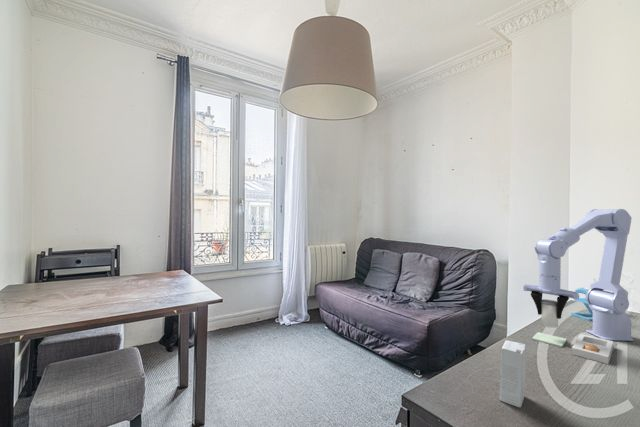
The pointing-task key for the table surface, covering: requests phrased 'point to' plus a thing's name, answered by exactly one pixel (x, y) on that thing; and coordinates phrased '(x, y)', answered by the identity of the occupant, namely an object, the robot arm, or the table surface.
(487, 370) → the table surface
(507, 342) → the skincare box
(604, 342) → the housing
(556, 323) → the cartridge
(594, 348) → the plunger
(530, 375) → the table surface
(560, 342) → the mat
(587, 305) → the chair
